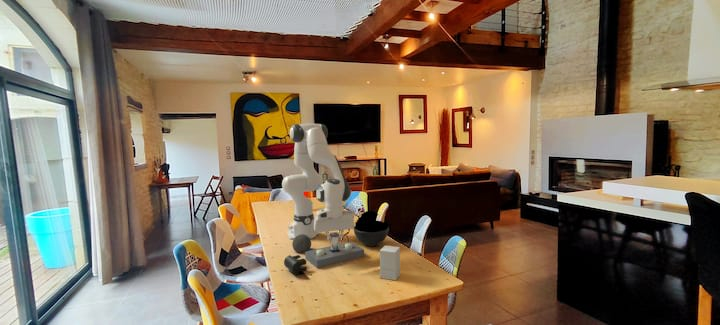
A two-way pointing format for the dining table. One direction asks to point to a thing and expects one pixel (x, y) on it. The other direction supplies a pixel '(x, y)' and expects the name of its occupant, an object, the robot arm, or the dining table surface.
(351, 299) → the dining table surface
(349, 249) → the block
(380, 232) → the coal bowl
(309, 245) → the decorative ball
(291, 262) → the end cap
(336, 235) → the steel plug
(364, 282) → the dining table surface
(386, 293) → the dining table surface
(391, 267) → the supplement box
